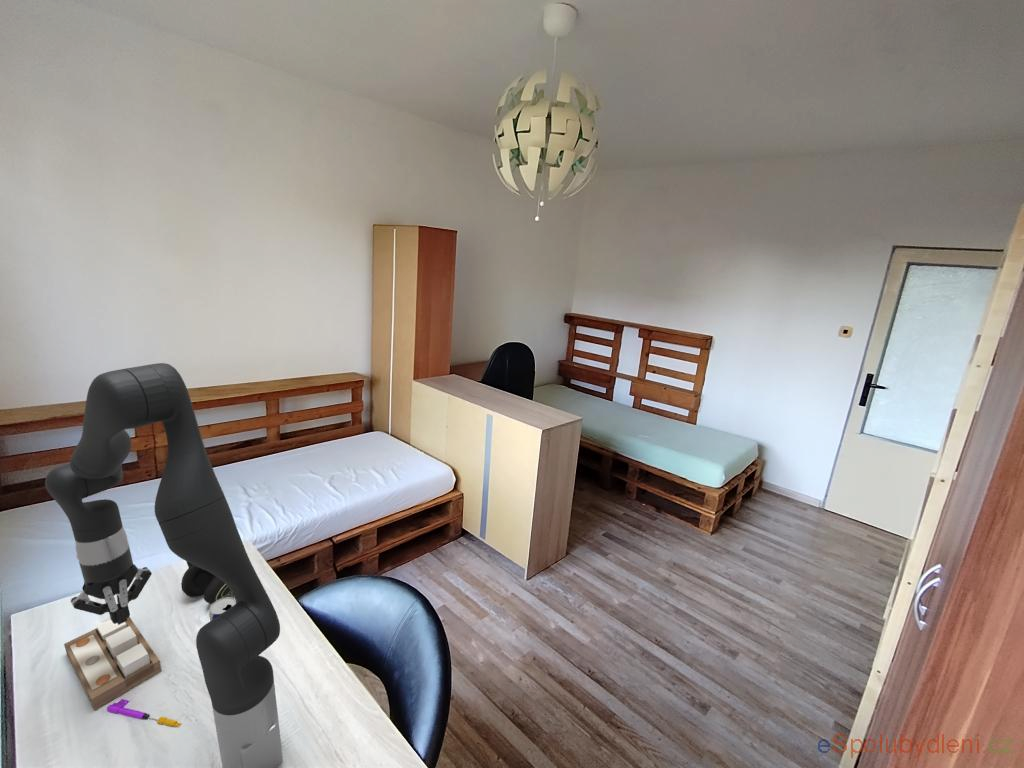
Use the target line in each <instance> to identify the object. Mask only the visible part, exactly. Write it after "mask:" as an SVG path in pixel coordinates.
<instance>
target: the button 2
mask: <svg viewBox="0 0 1024 768" xmlns="http://www.w3.org/2000/svg"><path fill="white" fill-rule="evenodd" d="M116 658H117V662H118V666H119V668H120V670H121V672H122V673H123V675H124V677H125V678H126V677H128V676H129V675H131V674H133V673H135V672H136V671H138V670H140V669H142V668H143V667H145V666H147V665H149V664H150V660H149V655H148V653H147V651H146V650H145V648H144V647H143V645H142V644H141V643H140V644H138V645H136V646H134V647H132V648H130V649H128V650H127V651H125V652H123V653H121V654H119V655H117V656H116Z"/></svg>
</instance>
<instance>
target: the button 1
mask: <svg viewBox="0 0 1024 768" xmlns="http://www.w3.org/2000/svg"><path fill="white" fill-rule="evenodd" d="M96 628H97V630H98V634H99V637H100V639H101V640H102V642H103V641H105V640H106V639H105V638H107V637H109V636H111V635H113V634H115V633H117V632H119V631H121V630H123V629H125V628H127V625H126V623H125V622H124V623H122V624H120V625H118V624H117V623H116V624H114V623H113V622H112V621H111V618H109V619H108V620H106V621H104V622H102V623H100V624H97V625H96Z"/></svg>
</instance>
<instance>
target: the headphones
mask: <svg viewBox="0 0 1024 768" xmlns="http://www.w3.org/2000/svg"><path fill="white" fill-rule="evenodd" d="M186 564H187V567H188V568H187V569H186V571H185V572H184V574H183V576H182V577H181V583H180V584H181V585H180V586H181V590H182V592H183V594H185V595H186V596H187V597H190V598H200V597H203V599H204V601H205V602H206V603H208V604H210V605H212V604H213V603H214V602H215V601H217V600H219V599H221V598H225V597H229V596H230V595H231V593H232V592H231V590H230V589H229V587H228V586H227V585H226V584H225V583H224V582H223V581H222V580H221V579H219V578H218V577H217V576H215V575H214V574H212V573H210V572H208V571H206V570H204V569H202V568H199V567H197V566H195V565H193V564H191V563H189V562H187V561H186Z"/></svg>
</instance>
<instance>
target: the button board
mask: <svg viewBox="0 0 1024 768" xmlns="http://www.w3.org/2000/svg"><path fill="white" fill-rule="evenodd" d="M125 623H126V625H127V627H129V626H130V627H131V629H132V630H133V632H134V633H135V635H136V637H137V642H138V644H140V643H141V644H142V645H143V647H144V648H145V650H146V651H147V653H148V655H149V660H150V664H149V665H147V666H145V667H143V668H142V669H140V670H138V671H136V672H135V673H133V674H131V675H129V676H128V677H126V678H125V677H124V675H123V673H122V672H121V670H120V668H119V666H118V662H117V658H115V659H114V658H113V657H112V655H111V653H110V651H109V650H108V647H107V643H106V640H105V641H103V642H102V640H101V639H100V637H99V634H98V630H97V627H95V628H94V629H92V630H90V631H87V632H86V633H84V634H81V635H79V636H78V637H75V638H74V639H71V640H70V641H67V642H65V643H64V644H63V646H64V649H65V654H66V656H67V657H68V659H69V661H70V664H71V666H72V667H73V670H74V671H75V672H74V673H76V675H77V678H78V679H79V681H80V684H81V685H82V687H83V690H84V692H85V694H86V696H87V698H88V700H89V702H90V704H91V705H92V708H93V710H94V711H97V710H98V709H100V708H102V707H103V706H105V705H107V704H109V703H111V702H112V701H113V700H116V699H117V698H119V697H121V696H122V695H123V694H125V693H127V692H129V691H132V689H134V688H135V687H138V686H139V685H140V684H142V683H145V682H146V681H147V680H149V679H151V678H152V677H154V676H156V675H157V674H160V673H161V672H162V671H163V670H162V666H161V661H160V659H159V658H158V656H157V654H156V653H155V652H154V650H153V648H152V647H151V646H150V644H149V643H148V641H147V640H146V639H145V637H144V636H143V634H142V632H141V631H140V630H139V628H138V627H137V626H136V624H135V622H134V621H133V619H132V618H131V617H130V616H129V617H128V618H127V621H126V622H125Z"/></svg>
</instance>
